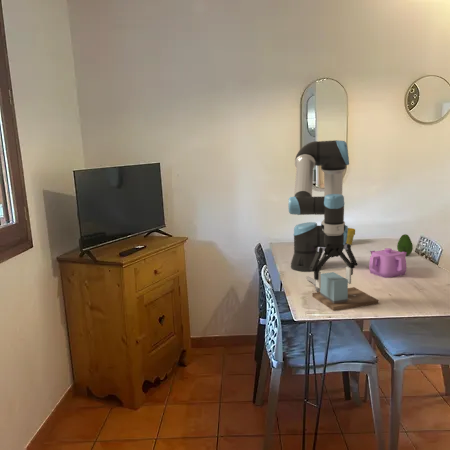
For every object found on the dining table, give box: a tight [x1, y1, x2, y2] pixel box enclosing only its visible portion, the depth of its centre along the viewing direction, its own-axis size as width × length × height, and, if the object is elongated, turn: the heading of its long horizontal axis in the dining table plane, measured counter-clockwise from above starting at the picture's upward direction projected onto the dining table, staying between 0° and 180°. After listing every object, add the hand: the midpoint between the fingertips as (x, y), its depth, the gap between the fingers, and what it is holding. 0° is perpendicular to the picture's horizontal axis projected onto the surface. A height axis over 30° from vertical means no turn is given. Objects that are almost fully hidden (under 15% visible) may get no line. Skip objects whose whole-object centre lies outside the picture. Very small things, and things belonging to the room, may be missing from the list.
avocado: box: [396, 233, 414, 257], centre depth 238 cm, size 8×8×12 cm
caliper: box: [305, 276, 320, 293], centre depth 195 cm, size 20×1×6 cm, turn 3°
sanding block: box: [319, 271, 349, 304], centre depth 173 cm, size 11×6×9 cm, turn 16°
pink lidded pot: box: [368, 247, 408, 279], centre depth 207 cm, size 17×17×12 cm
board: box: [311, 286, 379, 311], centre depth 175 cm, size 17×20×2 cm
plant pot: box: [346, 227, 356, 245], centre depth 270 cm, size 10×10×10 cm
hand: (333, 285), depth 173 cm, fingers open, 13 cm apart
